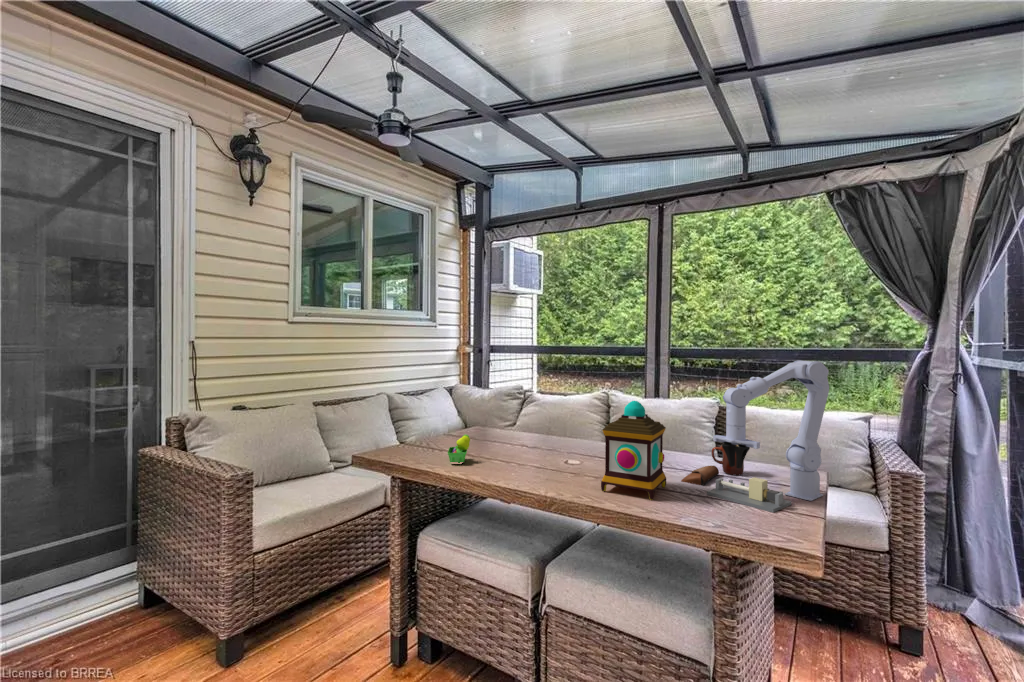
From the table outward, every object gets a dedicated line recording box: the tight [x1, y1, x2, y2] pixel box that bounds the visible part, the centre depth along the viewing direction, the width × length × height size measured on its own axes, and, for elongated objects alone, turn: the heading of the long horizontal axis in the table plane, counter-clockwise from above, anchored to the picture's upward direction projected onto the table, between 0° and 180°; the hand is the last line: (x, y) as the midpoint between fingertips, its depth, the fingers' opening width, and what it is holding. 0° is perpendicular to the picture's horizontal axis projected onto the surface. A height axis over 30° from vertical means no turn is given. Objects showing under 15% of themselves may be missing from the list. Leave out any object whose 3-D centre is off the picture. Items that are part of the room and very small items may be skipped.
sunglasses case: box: [680, 465, 720, 487], centre depth 176 cm, size 18×7×7 cm, turn 141°
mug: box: [711, 444, 745, 476], centre depth 184 cm, size 12×9×10 cm
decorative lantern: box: [600, 400, 667, 501], centre depth 162 cm, size 20×20×30 cm
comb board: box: [706, 477, 792, 514], centre depth 152 cm, size 21×12×4 cm, turn 37°
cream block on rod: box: [748, 476, 769, 501], centre depth 150 cm, size 4×4×6 cm
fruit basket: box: [447, 434, 471, 463], centre depth 197 cm, size 11×9×11 cm
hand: (735, 467), depth 156 cm, fingers closed
